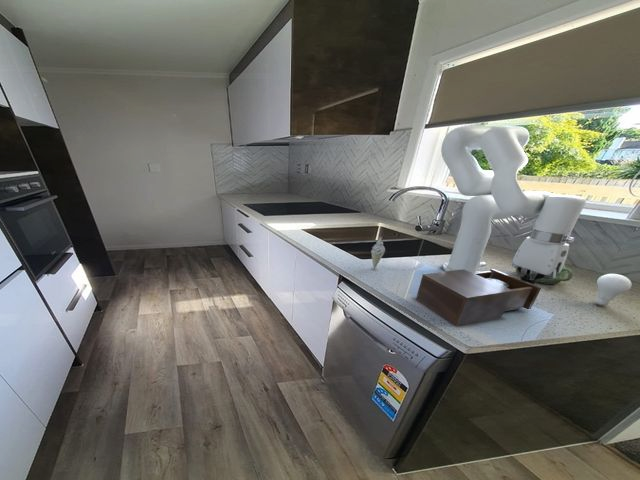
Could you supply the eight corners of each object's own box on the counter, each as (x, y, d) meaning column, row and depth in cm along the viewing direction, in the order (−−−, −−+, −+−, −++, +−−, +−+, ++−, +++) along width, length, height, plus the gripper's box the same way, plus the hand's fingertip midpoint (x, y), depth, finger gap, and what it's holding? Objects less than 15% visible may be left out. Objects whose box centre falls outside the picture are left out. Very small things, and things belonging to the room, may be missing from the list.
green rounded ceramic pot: (504, 270, 102) (513, 251, 99) (535, 270, 102) (545, 251, 99) (546, 290, 88) (557, 268, 84) (582, 290, 87) (595, 268, 84)
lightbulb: (579, 300, 82) (596, 270, 77) (595, 299, 82) (613, 270, 78) (604, 310, 76) (625, 280, 72) (621, 309, 76) (643, 279, 72)
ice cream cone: (382, 272, 102) (389, 238, 96) (369, 271, 103) (375, 238, 97) (378, 267, 107) (385, 234, 101) (366, 266, 108) (372, 234, 102)
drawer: (494, 286, 89) (502, 267, 86) (541, 307, 76) (552, 285, 73) (449, 293, 85) (456, 273, 82) (491, 316, 73) (501, 293, 70)
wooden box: (455, 293, 86) (463, 269, 83) (501, 318, 73) (513, 290, 69) (415, 299, 83) (422, 274, 79) (456, 326, 70) (467, 297, 66)
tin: (487, 291, 83) (493, 277, 81) (506, 300, 78) (513, 286, 76) (474, 293, 82) (480, 279, 80) (492, 303, 77) (499, 288, 75)
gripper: (592, 243, 69) (562, 298, 75) (527, 229, 82) (506, 277, 89) (573, 245, 67) (544, 301, 74) (510, 230, 81) (491, 279, 87)
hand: (524, 288), depth 81 cm, fingers closed
